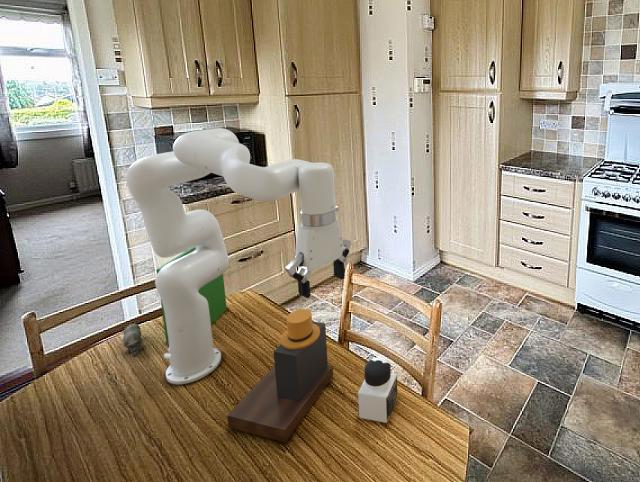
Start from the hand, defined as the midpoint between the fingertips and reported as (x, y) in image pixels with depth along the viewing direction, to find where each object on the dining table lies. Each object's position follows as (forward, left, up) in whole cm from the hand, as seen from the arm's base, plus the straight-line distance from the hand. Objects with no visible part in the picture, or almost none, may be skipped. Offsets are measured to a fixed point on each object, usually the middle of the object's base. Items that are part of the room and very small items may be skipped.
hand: (322, 286), depth 88 cm
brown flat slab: (-10, -4, -30) cm, 32 cm away
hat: (-7, 0, -14) cm, 16 cm away
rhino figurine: (-65, +1, -30) cm, 72 cm away
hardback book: (-57, +15, -30) cm, 66 cm away
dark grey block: (-7, 0, -26) cm, 27 cm away
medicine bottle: (+13, 0, -30) cm, 33 cm away
